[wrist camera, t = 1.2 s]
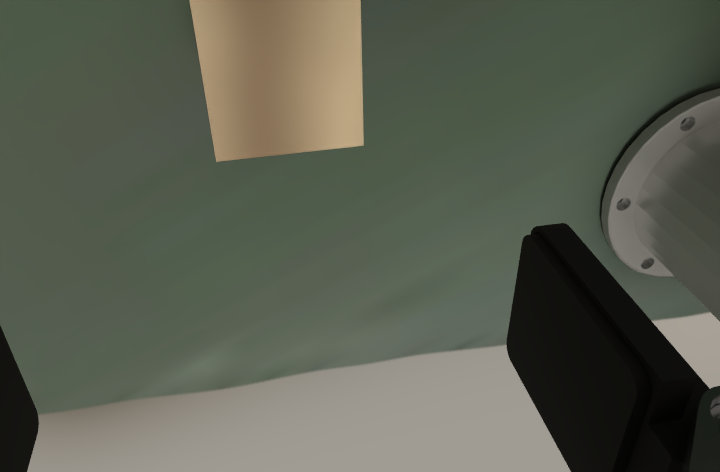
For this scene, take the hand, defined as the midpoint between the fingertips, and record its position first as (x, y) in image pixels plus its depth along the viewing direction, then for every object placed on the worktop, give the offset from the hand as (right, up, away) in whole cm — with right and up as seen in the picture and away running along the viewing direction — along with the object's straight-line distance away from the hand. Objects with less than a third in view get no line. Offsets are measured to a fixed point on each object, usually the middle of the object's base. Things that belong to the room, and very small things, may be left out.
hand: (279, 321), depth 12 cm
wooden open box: (-3, +12, +17) cm, 21 cm away
